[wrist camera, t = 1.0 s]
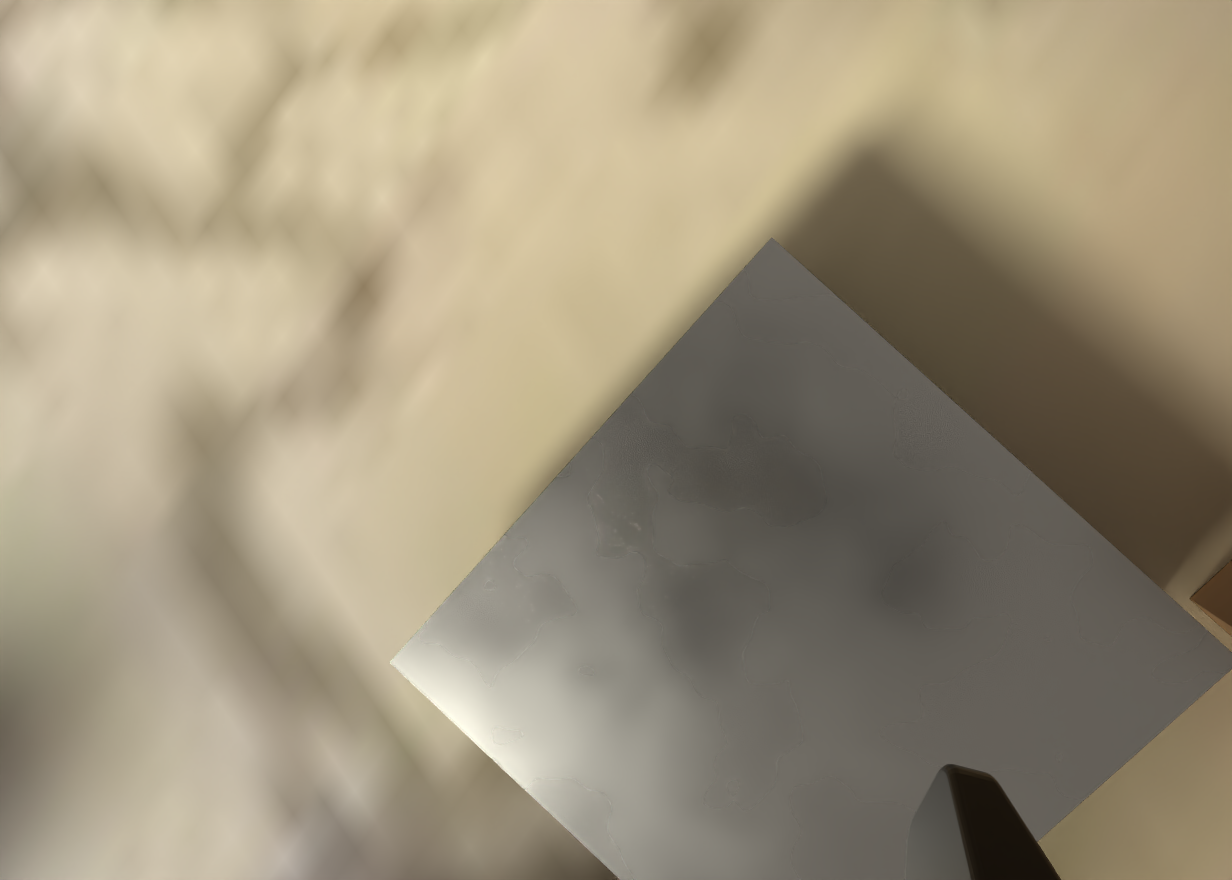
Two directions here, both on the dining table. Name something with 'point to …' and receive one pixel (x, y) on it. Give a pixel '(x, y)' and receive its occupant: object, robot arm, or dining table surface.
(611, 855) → the slate tin
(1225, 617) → the walnut block
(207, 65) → the dining table surface
